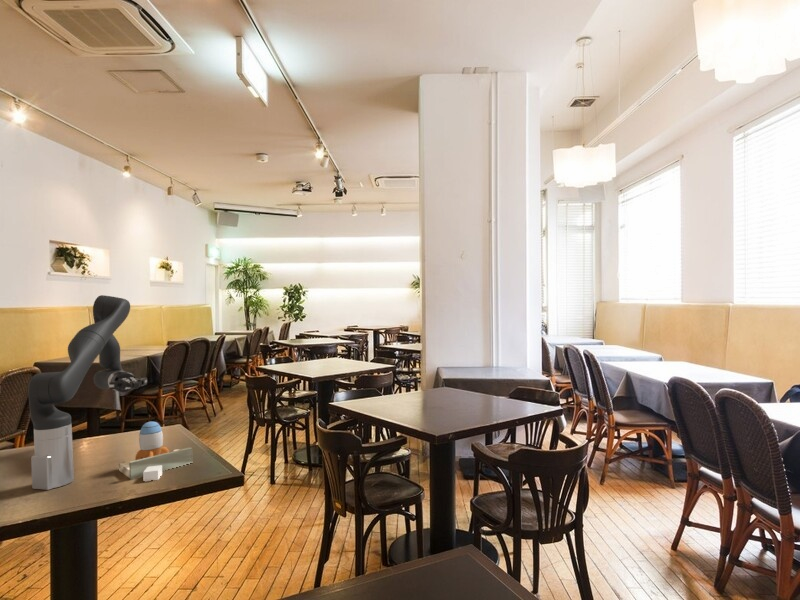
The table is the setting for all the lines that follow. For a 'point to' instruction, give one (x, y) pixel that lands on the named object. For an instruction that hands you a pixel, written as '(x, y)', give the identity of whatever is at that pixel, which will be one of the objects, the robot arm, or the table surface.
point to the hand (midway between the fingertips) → (136, 385)
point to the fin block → (152, 473)
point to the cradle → (157, 462)
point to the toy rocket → (150, 441)
